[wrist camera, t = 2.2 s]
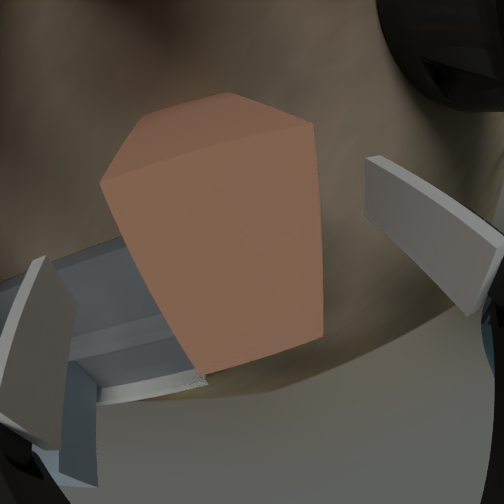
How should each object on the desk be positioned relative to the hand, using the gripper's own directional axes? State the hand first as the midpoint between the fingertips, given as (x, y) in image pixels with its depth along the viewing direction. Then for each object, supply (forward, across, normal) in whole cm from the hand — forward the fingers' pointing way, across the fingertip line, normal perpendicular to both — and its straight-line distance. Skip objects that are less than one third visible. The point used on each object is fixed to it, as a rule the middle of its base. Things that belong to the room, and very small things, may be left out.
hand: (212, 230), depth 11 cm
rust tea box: (+8, 0, 0) cm, 8 cm away
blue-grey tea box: (+7, +20, +14) cm, 25 cm away
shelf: (+8, +14, +11) cm, 20 cm away
